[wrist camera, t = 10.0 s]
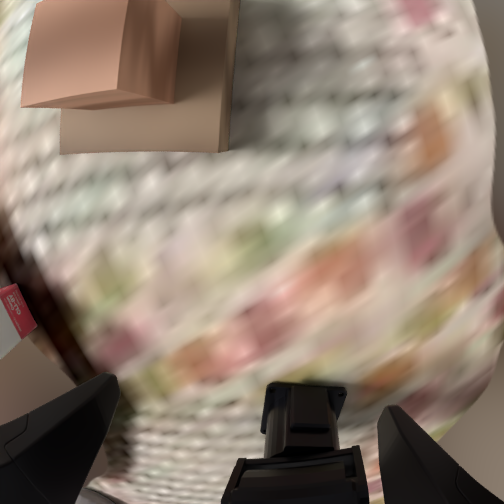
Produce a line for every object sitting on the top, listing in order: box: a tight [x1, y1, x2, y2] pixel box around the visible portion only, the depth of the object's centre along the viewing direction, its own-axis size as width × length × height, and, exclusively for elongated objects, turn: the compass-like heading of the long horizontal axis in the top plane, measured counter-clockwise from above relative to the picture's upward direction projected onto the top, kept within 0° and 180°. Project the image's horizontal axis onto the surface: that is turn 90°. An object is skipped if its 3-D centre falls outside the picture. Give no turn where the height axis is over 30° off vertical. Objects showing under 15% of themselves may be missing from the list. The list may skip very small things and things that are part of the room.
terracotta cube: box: [21, 0, 182, 110], centre depth 11 cm, size 5×5×6 cm
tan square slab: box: [60, 0, 240, 155], centre depth 15 cm, size 10×10×3 cm
